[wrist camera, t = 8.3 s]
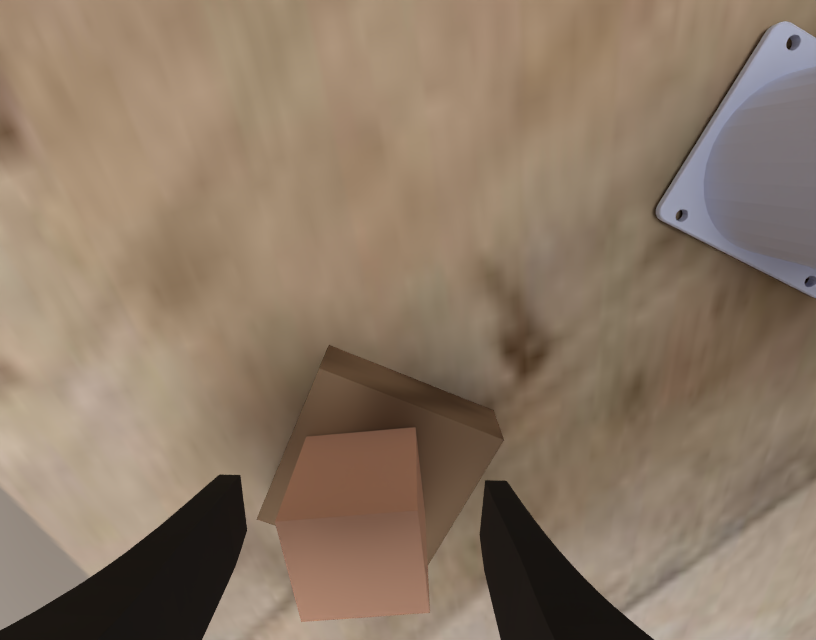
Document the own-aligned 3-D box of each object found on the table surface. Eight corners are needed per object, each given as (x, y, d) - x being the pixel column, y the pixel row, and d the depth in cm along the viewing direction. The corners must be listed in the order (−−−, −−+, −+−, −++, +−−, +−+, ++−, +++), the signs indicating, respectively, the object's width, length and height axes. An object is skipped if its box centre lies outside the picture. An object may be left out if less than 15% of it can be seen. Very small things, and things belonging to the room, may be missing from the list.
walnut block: (491, 405, 23) (503, 440, 20) (420, 529, 26) (422, 574, 23) (330, 341, 22) (319, 368, 19) (273, 478, 24) (256, 519, 22)
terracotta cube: (415, 426, 20) (417, 510, 15) (425, 513, 22) (429, 612, 17) (306, 436, 20) (274, 521, 15) (324, 521, 22) (301, 621, 17)
